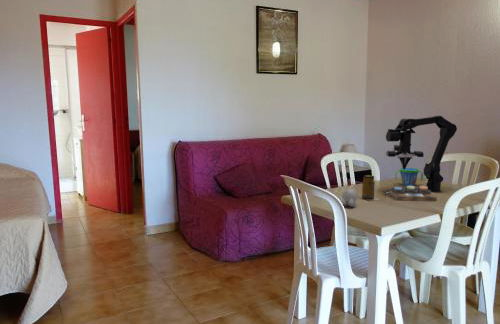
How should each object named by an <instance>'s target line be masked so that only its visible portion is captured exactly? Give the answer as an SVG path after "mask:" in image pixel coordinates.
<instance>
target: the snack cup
mask: <svg viewBox="0 0 500 324" xmlns="http://www.w3.org/2000/svg"><path fill="white" fill-rule="evenodd" d="M398 172H399V173H400V177H401V185H402V186H403V187H407V186H415V187H416V183H417V180H418V179H417V178H418V174H419V173H421V179H420V181H423V180H424V173H423V172H422V171H421V170H419V168H414V167H406V168H405V169H403V168H400V169H398V170H397V171H396V172H395V180H397V178H398V177H397V174H398Z"/></svg>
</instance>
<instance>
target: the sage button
mask: <svg viewBox="0 0 500 324" xmlns="http://www.w3.org/2000/svg"><path fill="white" fill-rule="evenodd" d="M406 188H407V190H415V189H416V185H415V186H406Z"/></svg>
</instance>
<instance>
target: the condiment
mask: <svg viewBox="0 0 500 324" xmlns="http://www.w3.org/2000/svg"><path fill="white" fill-rule="evenodd" d="M375 183H376V182H375V176H374V175H372V174H371V175H370V174H366V175H363V180H362V188H361V190H362V191H361V196H359V197H358V198H359V199H362V200H366V201H378V200H379V198H378V197H375Z"/></svg>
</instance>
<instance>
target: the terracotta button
mask: <svg viewBox="0 0 500 324" xmlns="http://www.w3.org/2000/svg"><path fill="white" fill-rule="evenodd" d="M418 188H419V190H428V187H427V186H426V185H419V187H418Z"/></svg>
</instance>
